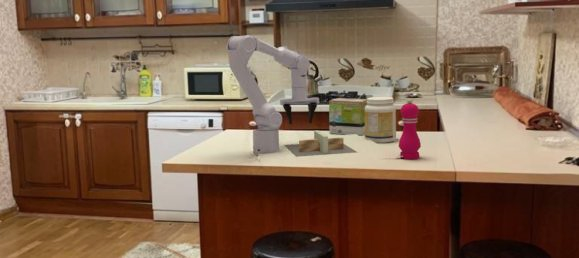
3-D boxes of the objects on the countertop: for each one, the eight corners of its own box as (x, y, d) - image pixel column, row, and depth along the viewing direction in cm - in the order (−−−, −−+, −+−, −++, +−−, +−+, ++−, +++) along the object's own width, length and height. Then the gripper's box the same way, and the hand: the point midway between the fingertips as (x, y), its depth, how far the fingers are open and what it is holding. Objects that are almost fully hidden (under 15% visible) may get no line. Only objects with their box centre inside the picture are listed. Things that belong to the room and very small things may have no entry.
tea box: (328, 134, 244) (328, 99, 242) (338, 130, 253) (337, 97, 251) (361, 136, 237) (361, 100, 235) (370, 132, 246) (369, 98, 244)
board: (296, 159, 195) (296, 156, 194) (283, 147, 217) (283, 144, 217) (357, 155, 199) (357, 152, 198) (339, 143, 221) (339, 141, 221)
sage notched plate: (328, 153, 198) (327, 136, 197) (323, 153, 198) (323, 136, 197) (318, 146, 212) (318, 130, 211) (314, 146, 211) (314, 130, 210)
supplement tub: (373, 137, 233) (373, 95, 231) (401, 139, 227) (401, 96, 224) (359, 142, 223) (359, 99, 221) (388, 144, 217) (387, 100, 214)
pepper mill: (405, 154, 197) (405, 97, 194) (424, 156, 192) (424, 97, 189) (394, 158, 191) (394, 99, 188) (414, 160, 187) (414, 100, 183)
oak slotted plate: (300, 152, 202) (299, 140, 201) (299, 151, 203) (298, 140, 203) (343, 149, 205) (343, 138, 204) (342, 148, 206) (342, 137, 206)
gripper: (315, 85, 217) (316, 120, 219) (278, 87, 214) (279, 122, 216) (320, 86, 210) (321, 123, 212) (281, 88, 207) (282, 125, 209)
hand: (300, 123), depth 214 cm, fingers open, 7 cm apart
